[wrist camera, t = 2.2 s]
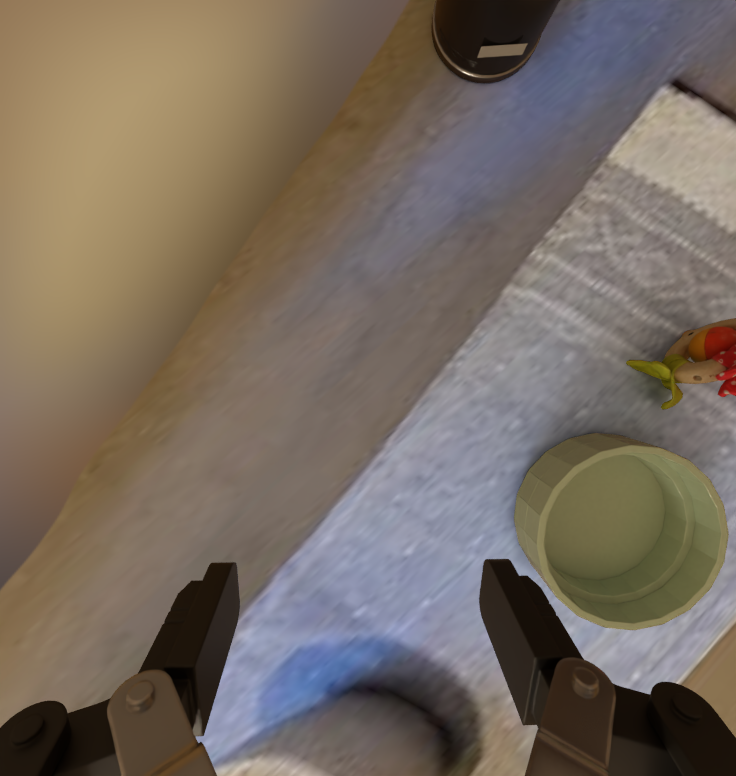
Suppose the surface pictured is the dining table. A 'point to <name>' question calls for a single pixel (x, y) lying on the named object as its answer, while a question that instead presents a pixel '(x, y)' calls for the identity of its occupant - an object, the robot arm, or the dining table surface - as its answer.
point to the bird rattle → (697, 360)
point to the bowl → (621, 530)
